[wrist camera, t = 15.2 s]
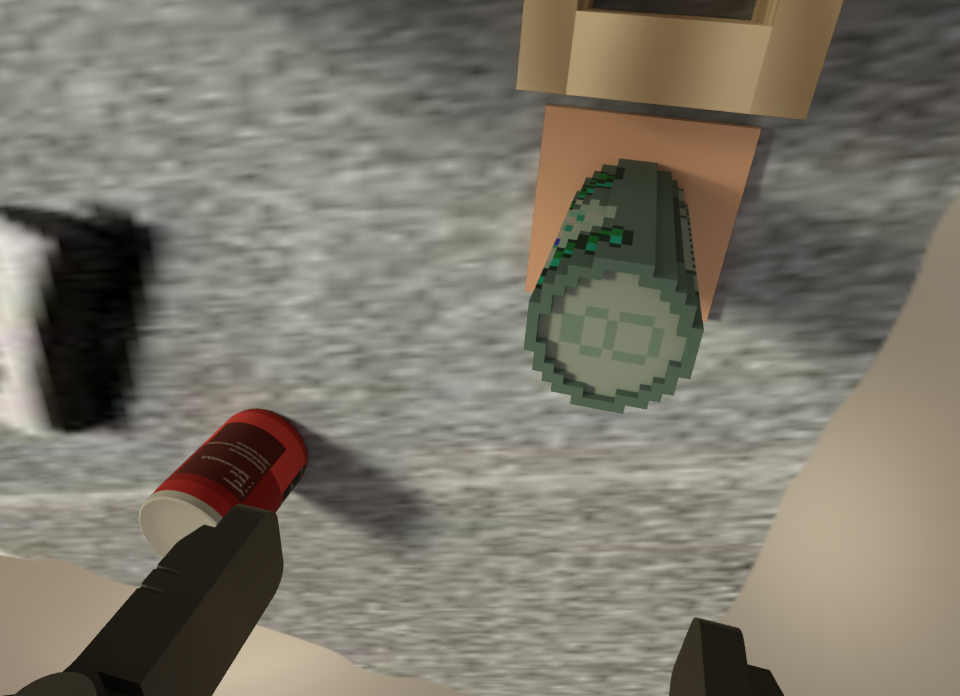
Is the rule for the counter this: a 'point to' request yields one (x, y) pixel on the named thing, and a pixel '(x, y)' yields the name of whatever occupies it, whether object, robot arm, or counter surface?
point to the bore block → (679, 55)
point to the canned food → (226, 477)
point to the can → (618, 292)
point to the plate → (675, 148)
